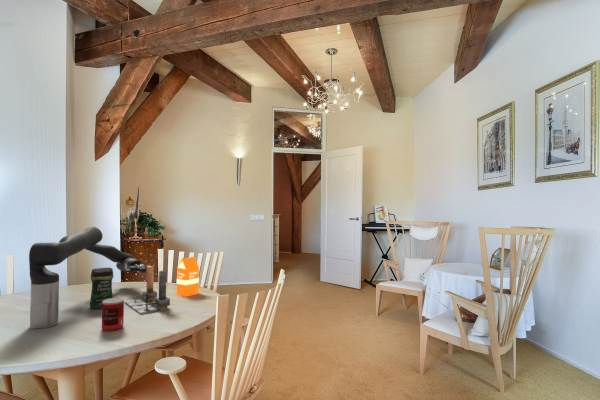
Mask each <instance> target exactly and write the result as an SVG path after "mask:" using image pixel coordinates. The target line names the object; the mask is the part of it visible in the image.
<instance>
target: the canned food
mask: <svg viewBox="0 0 600 400" xmlns="http://www.w3.org/2000/svg"><path fill="white" fill-rule="evenodd" d="M124 301H125V300H124V298H121V297H113V298H110V299H106V300H103V301H102V308H101V330H102V331H103V332H115V331H119V330H121V329H122V328H123V327H124V323H125V322H124V318H125V317H124V316H125V313H124V311H125V310H124V309H125V303H124Z"/></svg>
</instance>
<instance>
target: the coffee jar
mask: <svg viewBox="0 0 600 400" xmlns="http://www.w3.org/2000/svg"><path fill="white" fill-rule="evenodd" d="M113 279H114V270H113V268H112V267H98V268H97V267H96V268H93V269H91V272H90V280H91V284H92V285H91V292H90V293H91V294H90V298H89V308H90V309H93V310H97V309H102V301H103V300H106V299H110V298H114V297H113V290H112V289H113V287H112V285H113V283H112V282H113Z"/></svg>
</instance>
